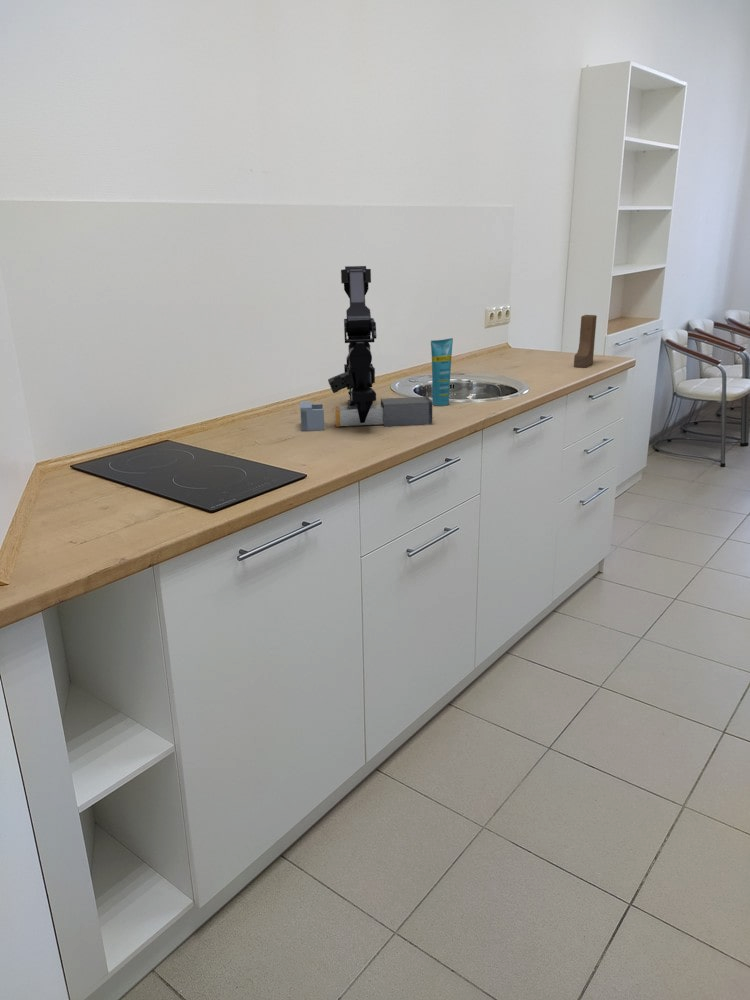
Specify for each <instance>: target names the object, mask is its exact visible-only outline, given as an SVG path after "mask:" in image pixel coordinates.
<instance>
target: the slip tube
mask: <svg viewBox="0 0 750 1000" xmlns="http://www.w3.org/2000/svg"><path fill="white" fill-rule="evenodd" d="M333 411H334V425H335V428H337V427H352V426H371V425H373V426H375V425H384V407H383V405H381V404H372V405H371V407H370V410H369V412H368V415H367V417H366V420H365V422H364V423H360V419H359V414H358V409H357V406H349V405H348V406H346V405H345V406H343V405H342V406H339V405H338V406H334V410H333Z"/></svg>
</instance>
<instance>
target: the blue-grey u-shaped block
mask: <svg viewBox="0 0 750 1000" xmlns="http://www.w3.org/2000/svg"><path fill="white" fill-rule="evenodd" d="M299 409H300V424H301V431H302V432H308V431H310V432H311V431H325V412H324V408H323V403H322V402H321V403H312V400H305V401H304V400H303V401H302V400H301V401H299Z"/></svg>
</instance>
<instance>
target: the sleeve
mask: <svg viewBox="0 0 750 1000" xmlns="http://www.w3.org/2000/svg"><path fill="white" fill-rule="evenodd" d="M380 405H383V407H384V424H383V427H401V426H420V425H433V400H431V399H430V397H428V396H415V397H414V396H413V397H412V396H411V397H410V396H409V397H391V398H390V397H389V398H380Z"/></svg>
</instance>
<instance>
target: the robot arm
mask: <svg viewBox="0 0 750 1000" xmlns="http://www.w3.org/2000/svg"><path fill="white" fill-rule="evenodd" d="M371 271H372V270H371V268H367V266H366V265H356V266H355V265H353V266H352V265H351V266H350V265H349V266H344V269H340V277H341V278H340V279H341V281H340V282H341V283H340V284H343V289H344V290H343V291H344V292H345V294H346V296H347V297H348V298H349V307H348V308H347V309H346V312H345V313H346V318H343V323H344V324H343V326H344V327H343V329H344V330H343V331H344V344H348V354H347V356H346V364H345V363H344V365H343V368H344V369H343V370H344V372H342V373H339V374H337V375H335V376H332V377H330V378H328V379H327V380H328V384H329V387H330V389H331V391H332V393H333V394H336V393H338V392H340V391H341V390H343V389H346V390H347V391H348V390H349V391H348V395H349V399H347V403H348V406H357V409H358V414H359V419H360V423H364V422H365V420H366V417H367V415H368V412H369V410H370V407H371V405H373V403H374V402H376V401H377V392H376V391H375V390H374V389H373V385H374V384H375V383H376V376H375V374H376V371H375V370H376V368H375V367H374V365H373V363H372V361H373V356H372V351H371V344H370V343H375V340H376V339H377V324H376V321H375V319H374V318H373V317H371V316H372V315H371V308H369V307H368V306H367V305H366V295H367V293H368V291H369V284H370V283H372V272H371Z"/></svg>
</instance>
